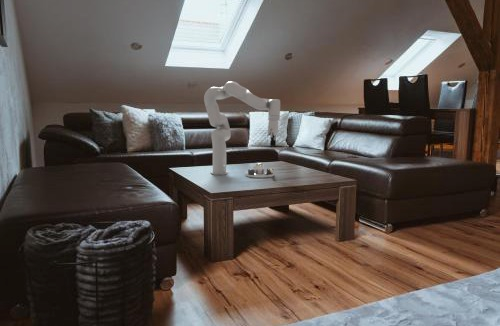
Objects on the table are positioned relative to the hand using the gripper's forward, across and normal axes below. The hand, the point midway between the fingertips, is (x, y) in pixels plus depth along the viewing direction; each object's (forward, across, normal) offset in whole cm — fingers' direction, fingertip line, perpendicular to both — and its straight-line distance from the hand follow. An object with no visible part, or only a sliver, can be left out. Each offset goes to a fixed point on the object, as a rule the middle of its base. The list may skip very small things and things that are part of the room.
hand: (272, 145), depth 267 cm
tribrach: (+22, -4, -10) cm, 24 cm away
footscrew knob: (+20, 0, 0) cm, 20 cm away
